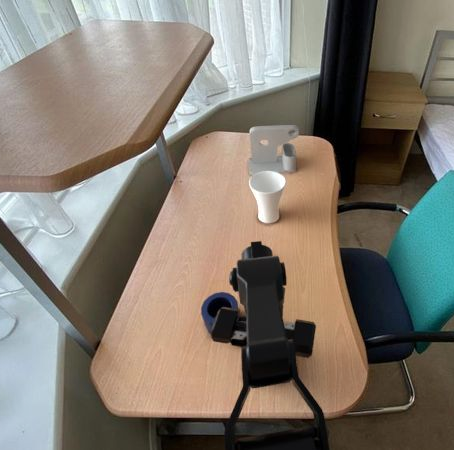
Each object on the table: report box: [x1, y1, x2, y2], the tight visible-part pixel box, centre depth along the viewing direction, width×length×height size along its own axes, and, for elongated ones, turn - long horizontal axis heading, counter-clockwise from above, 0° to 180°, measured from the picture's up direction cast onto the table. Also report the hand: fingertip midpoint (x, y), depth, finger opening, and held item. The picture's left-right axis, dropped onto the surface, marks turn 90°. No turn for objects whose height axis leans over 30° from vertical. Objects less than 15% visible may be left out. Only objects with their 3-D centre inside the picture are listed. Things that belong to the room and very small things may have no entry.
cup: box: [248, 171, 287, 224], centre depth 96 cm, size 10×10×14 cm
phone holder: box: [248, 124, 300, 176], centre depth 114 cm, size 17×10×18 cm, turn 100°
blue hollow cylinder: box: [200, 291, 241, 335], centre depth 73 cm, size 8×8×6 cm
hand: (265, 350), depth 66 cm, fingers open, 4 cm apart
